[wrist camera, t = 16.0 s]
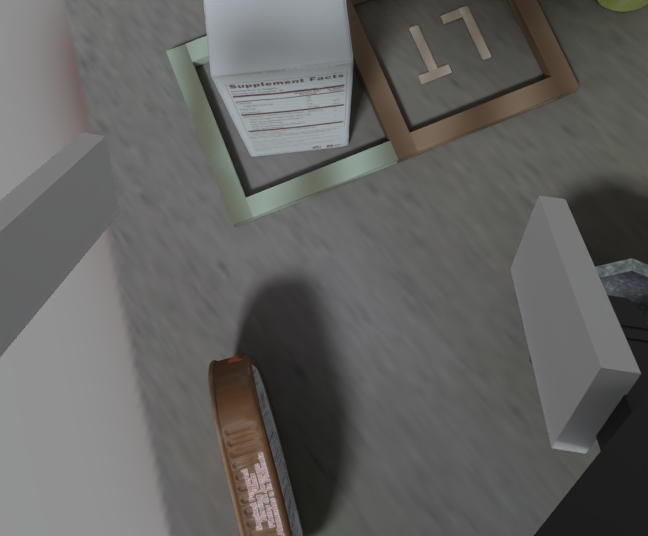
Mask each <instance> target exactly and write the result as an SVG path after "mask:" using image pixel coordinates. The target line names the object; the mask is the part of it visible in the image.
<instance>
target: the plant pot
mask: <svg viewBox="0 0 648 536" xmlns="http://www.w3.org/2000/svg"><path fill="white" fill-rule="evenodd" d="M597 1H598V2H599V4H600V5H601V6H602V7H604V8H607V9H610V10H613V11H620V12H626V11H633V10H637V9H640V8H642V7H644V6H645V5H647V4H648V0H597Z"/></svg>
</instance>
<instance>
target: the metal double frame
mask: <svg viewBox="0 0 648 536" xmlns="http://www.w3.org/2000/svg"><path fill="white" fill-rule="evenodd" d="M364 1H367V0H346V4H347V13H348V21H349V29H350V37H351V44H352V52H353V63H354V65H355V68H356V70H357V72H358V75H359V77H360V79H361V82H362V84H363V86H364V88H365V91H366V93H367V95H368V98H369V100H370V102H371V105H372V107H373V109H374V111H375V114H376V116H377V118H378V121H379V123H380V125H381V128H382V130H383V132H384V134H385V137H386V139H387V141H388V142H385V143H383V144H380V145H378V146H375V147H373V148H370V149H368V150H365V151H362V152H360V153H357V154H355V155H352V156H350V157H347V158H345V159H342V160H340V161H337V162H335V163H332V164H330V165H327V166H325V167H322V168H320V169H317V170H315V171H312V172H309V173H307V174H304V175H302V176H299V177H297V178H294V179H292V180H289V181H287V182H284V183H282V184H279V185H277V186H274V187H272V188H269V189H267V190H264V191H262V192H259V193H256V194H254V195H251V196H249V197H246V195H245V193H244V190H243V188H242V185H241V183H240V180H239V178H238V175H237V172H236V170H235V167H234V165H233V162H232V160H231V157H230V155H229V152H228V149H227V147H226V144H225V142H224V139H223V137H222V134H221V132H220V129H219V127H218V124H217V121H216V119H215V116H214V114H213V111H212V109H211V106H210V104H209V101H208V98H207V96H206V93H205V91H204V88H203V86H202V83H201V81H200V78H199V76H198V73H197V70H196V68H195V67H197V66H199V65H202V64H205V63H207V62H209V54H208V43H207V36H204V37H202V38H199V39H196V40H194V41H191V42H189V43H186V44H184V45H181V46H178V47H176V48H173V49H171V50H168V51H166V52H167V55H168V57H169V60H170V62H171V65H172V68H173V70H174V73H175V75H176V78H177V81H178V83H179V86H180V88H181V91H182V93H183V96H184V99H185V101H186V104H187V106H188V109H189V112H190V114H191V117H192V119H193V122H194V125H195V127H196V130H197V132H198V135H199V138H200V140H201V143H202V145H203V148H204V150H205V153H206V156H207V158H208V161H209V163H210V166H211V169H212V171H213V174H214V176H215V179H216V182H217V184H218V187H219V189H220V192H221V195H222V197H223V200H224V202H225V205H226V207H227V210H228V213H229V215H230V218H231V220H232V223H233V225H234V226H235V227H238V226H240V225H243V224H245V223H248V222H250V221H253V220H255V219H258V218H260V217H263V216H265V215H268V214H270V213H273V212H275V211H278V210H280V209H283V208H285V207H288V206H290V205H293V204H295V203H298V202H300V201H303V200H305V199H308V198H310V197H313V196H316V195H318V194H321V193H323V192H326V191H328V190H331V189H333V188H336V187H338V186H341V185H343V184H346V183H348V182H351V181H353V180H356V179H358V178H361V177H363V176H366V175H368V174H371V173H373V172H376V171H378V170H381V169H383V168H386V167H388V166H391V165H393V164H396V163H399V162H401V161H404V160H406V159H409V158H411V157H414V156H416V155H419V154H421V153H424V152H426V151H429V150H431V149H434V148H436V147H439V146H441V145H444V144H446V143H449V142H451V141H454V140H456V139H459V138H461V137H464V136H466V135H469V134H471V133H474V132H477V131H479V130H482V129H484V128H487V127H489V126H492V125H494V124H497V123H499V122H502V121H504V120H507V119H509V118H512V117H514V116H517V115H519V114H522V113H524V112H527V111H529V110H532V109H534V108H537V107H539V106H542V105H544V104H547V103H549V102H552V101H554V100H557V99H560V98H562V97H565V96H567V95H570V94H572V93H575V92H576V91H577V90H578V89H579V88H580V87H579V85H578V82H577V80H576V78H575V76H574V74H573V72H572V70H571V68H570V66H569V64H568V62H567V60H566V58H565V56H564V54H563V52H562V50H561V48H560V46H559V44H558V42H557V40H556V38H555V36H554V34H553V32H552V30H551V28H550V26H549V24H548V21H547V19H546V17H545V15H544V13H543V11H542V9H541V7H540V5H539V3H538V1H537V0H508V2H509V4H510V6H511V8H512V10H513V12H514V14H515V16H516V18H517V20H518V23H519V25H520V27H521V29H522V31H523V33H524V35H525V37H526V39H527V41H528V43H529V45H530V47H531V49H532V51H533V54H534V56H535V58H536V60H537V62H538V64H539V66H540V68H541V70H542V72H543V74H544V76H545V78H546V79H544V80H542V81H539V82H537V83H534V84H532V85H529V86H526V87H524V88H521V89H519V90H516V91H514V92H511V93H509V94H506V95H504V96H501V97H499V98H496V99H494V100H491V101H489V102H486V103H484V104H481V105H479V106H476V107H474V108H471V109H468V110H466V111H463V112H461V113H458V114H456V115H453V116H451V117H448V118H446V119H443V120H441V121H438V122H436V123H433V124H431V125H428V126H426V127H423V128H421V129H418V130H415V131H413V132H410V133H409V130H408V128H407V126H406V124H405V121H404V119H403V117H402V115H401V112H400V110H399V108H398V106H397V103H396V101H395V99H394V96H393V94H392V92H391V90H390V87H389V85H388V83H387V81H386V78H385V76H384V74H383V72H382V69H381V67H380V65H379V62H378V60H377V58H376V56H375V53H374V51H373V49H372V47H371V44H370V42H369V40H368V38H367V35H366V33H365V31H364V29H363V26H362V24H361V22H360V19H359V17H358V15H357V13H356V10H355V8H354V5H356V4H359V3H361V2H364ZM440 17H441V20H442V22H443V24H446V23H449V22H452V21H454V20H457V19H459V18H463V20H464V22H465V24H466V26H467V28H468V30H469V32H470V35H471V37H472V39H473V41H474V43H475V45H476V47H477V50H478V52H479V54H480V56H481V58H482V60H485V59H488V58H491V57H492V56H491V54H490V52H489V50H488V48H487V46H486V44H485V42H484V39H483V37H482V35H481V33H480V31H479V29H478V27H477V25H476V22H475V20H474V18H473V16H472V14H471V12H470V10H469V8H468V6H464V7H462V8H459V9H457V10H454V11H452V12H449V13H447V14H444V15H441V16H440ZM409 29H410V32H411V34H412V36H413V38H414V41H415V43H416V45H417V47H418V49H419V52H420V54H421V56H422V58H423V60H424V63H425V65H426V67H427V69H428V71H429V72H427V73H424V74H422V75H419V76H418V77H419V79H420V81H421V84H425V83H427V82H430V81H432V80H435V79H437V78H440V77H442V76H445V75H447V74H450V73H452V71H451V69H450V66H449V64H447V65H444V66H442V67H439V68H437V65H436V63H435V61H434V59H433V57H432V55H431V52H430V50H429V48H428V46H427V44H426V41H425V39H424V37H423V35H422V33H421V30H420V28H419V26H418V25H416V26H413V27H411V28H409Z"/></svg>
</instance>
